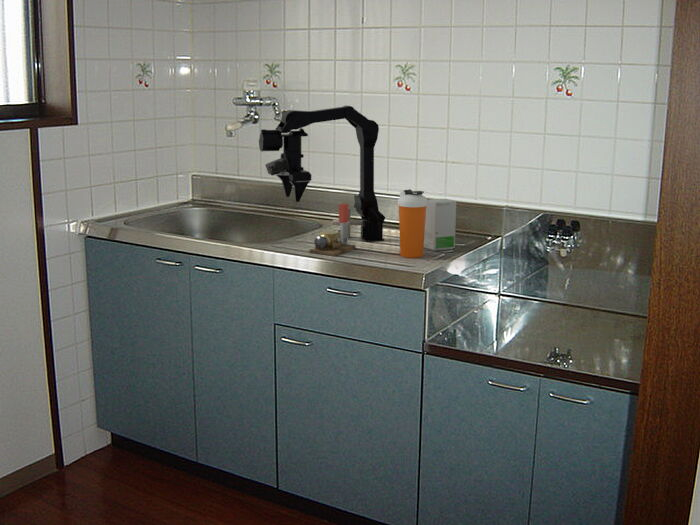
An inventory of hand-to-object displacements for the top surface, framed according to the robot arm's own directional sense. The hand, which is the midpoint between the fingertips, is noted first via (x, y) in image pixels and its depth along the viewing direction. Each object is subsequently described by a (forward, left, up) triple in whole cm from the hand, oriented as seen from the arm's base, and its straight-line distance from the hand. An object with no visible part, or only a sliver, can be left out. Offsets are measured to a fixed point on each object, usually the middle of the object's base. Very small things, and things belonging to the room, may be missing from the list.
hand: (292, 199), depth 270 cm
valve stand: (-10, +12, -15) cm, 22 cm away
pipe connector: (-20, -7, -15) cm, 26 cm away
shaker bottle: (-32, +25, -15) cm, 43 cm away
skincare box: (-44, +17, -15) cm, 50 cm away
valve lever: (-13, +15, -13) cm, 24 cm away
